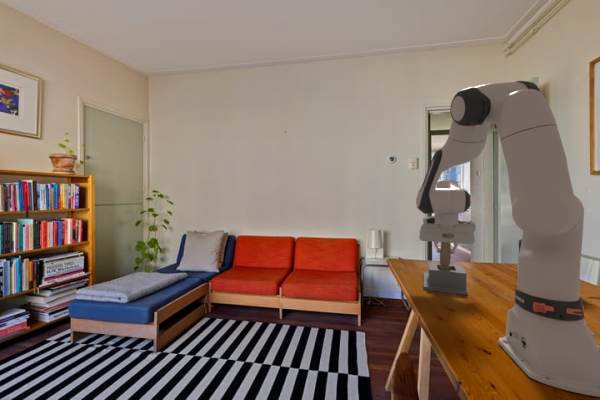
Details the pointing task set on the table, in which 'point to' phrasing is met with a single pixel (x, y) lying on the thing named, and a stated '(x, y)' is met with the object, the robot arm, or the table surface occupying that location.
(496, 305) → the table surface
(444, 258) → the handle
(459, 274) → the socket block
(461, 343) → the table surface
